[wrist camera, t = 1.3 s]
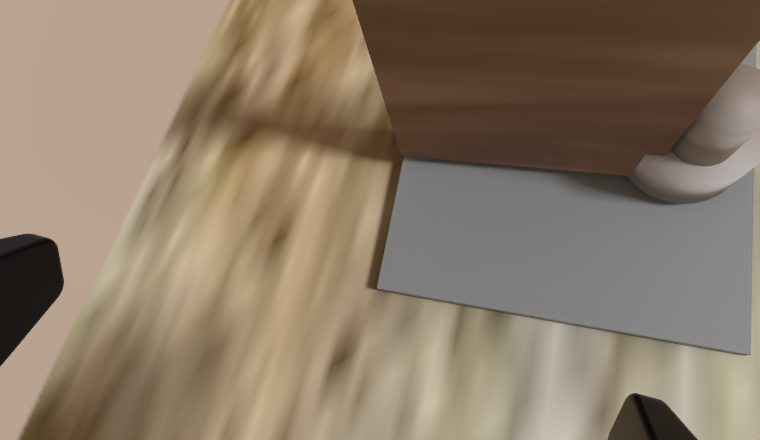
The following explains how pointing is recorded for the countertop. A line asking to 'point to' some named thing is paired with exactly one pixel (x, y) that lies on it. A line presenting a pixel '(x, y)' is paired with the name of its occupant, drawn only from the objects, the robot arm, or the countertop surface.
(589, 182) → the slate base
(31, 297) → the robot arm
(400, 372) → the countertop surface
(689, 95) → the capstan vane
